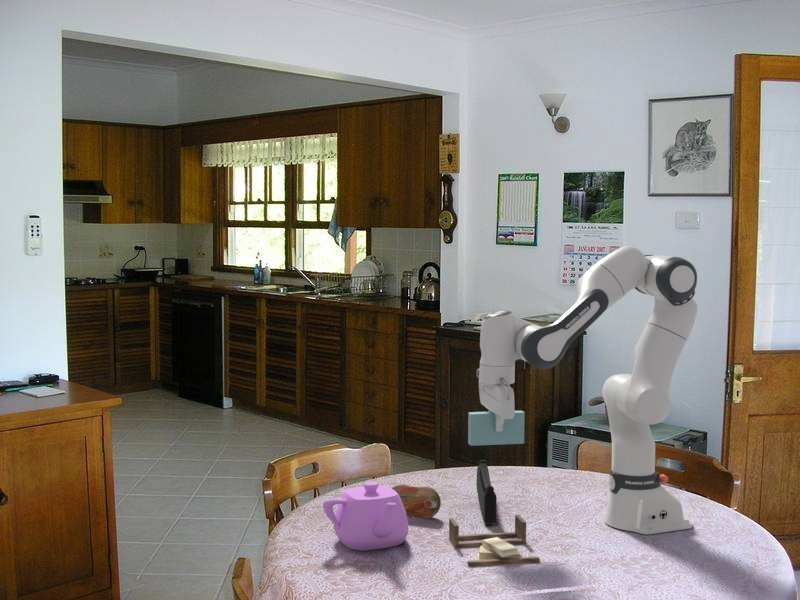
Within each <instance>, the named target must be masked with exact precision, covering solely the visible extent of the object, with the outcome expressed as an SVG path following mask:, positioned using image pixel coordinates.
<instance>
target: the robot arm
mask: <svg viewBox="0 0 800 600" xmlns="http://www.w3.org/2000/svg"><path fill="white" fill-rule="evenodd" d="M697 284H698V273H697V269H696V267H695V265H693V264H692V262H690V261H688V260H687V259H685V258H683V257H681V256H680V257H679V256H673V255H668V254H656V255H654V254H644V253H643V252H642V251H641V250H640V249H638V248H637V247H635V246H632V245H624V246H622V247H619V248H617V249H615V250H614V251H612V252H610V253H608V254H607V255H605V256H603V257H602V258H600V260H598V261H597V262H596V263H594V264H593V265H591V266H590V267H589V268H588V269H587V270H585V272H584V273H583V274H582V275H581V276H580V278H579V279H577V282H576V293H577V294H576V295H577V300H576V302H575V303H574V304H573V306H571V307H570V308H569V309H568V310H567V311H566V312H564V313H563V314H562V315H561V316H560V317H559V318H558V319H557V320H556V321H554V322H553V323H550V324H549V325H545V326H541V325H539V324H536V323H534V322H530V321H527V320H525V319H523V318H521V317H520V316H517V315H516V314H514V313H513V311H511V310H498V311H497V310H496V311H493V312H489V313H487V314H486V315H485V316H484V317H483V319H482V320H481V321H482V322H481V325H480V336H479V348H480V354H481V356H480V360H479V368H477V369H476V377H477V378H478V392H479V393H478V394H479V401H480V404H481V405H482V406H483V407H484V408H486V409H487V410H488V412H493V413H494V414H495V418H496V423H495V430H496V431H497V432H501V431H503V423H504V420H505V419H513V418H514V415H515V411H516V409H515V406H516V405H515V403H516V402H515V391H514V388H513V387H511V385H512V384H514V383H515V382H516V381H515V378H516V376H515V374H516V372H515V371H516V361H518V360H522V361H524V362H526V363H528V364H529V365H531V366H532V367H533V368H535V369H539V370H548V369H551V368H553V367H555V366H557V365H558V364H559V363H560V362H561V360H562V359H563V357H564V356H565V353H566V352H567V350H568V349H569V347H570V346H571V344H572V343H574V341H575V340H576V339H577V338H578V337H579V336H581V334H583V333H584V332H585V331H586V330H587V329H588V328H589V327H590V326H591V325H593V324H594V323H595V322H596V321H597V320H598V319H599V318H600V316H602V315H603V314H604V313H605V312H606V311H607V310H608V309H609V308H611V307H612V306H614V304H616V303H618V302H619V301H620V300H621V299H622V298H623V297H625V296H626V295H627V294H628V293H629V292H630V291H632V290H636V291H637V292H638V293H641V294H644V295H648V296H650V297H654V307H653V310H652V311H653V312H652V313H651V315H650V316H649V318H648V321H647V322H646V324H645V326H644V329H643V331H642V333H641V335H640V337H639V339H638V341H637V343H636V345H635V347H634V365H633V368H632V373H631V374H629V373H618V374H614V375H611V376H610V377H608V378H607V379H606V380H605V382H604V383H603V386H602V389H601V395H602V398H603V401H604V403H605V407H606V412H607V417H608V424H609V429H610V436H611V468H609V478H608V479H609V480H608V486H609V499H608V503H607V504H608V505H607V509H606V512H605V515H604V519H603V522H604V523H605V524H607V525H608V526H610V527H611V528H615V529H618V530H621V531H622V530H623V531H629V532H633V533H637V534H640V535H647V536H648V535H654V534H662V533H669V532H675V531H683V530H689V529H690V530H691V529H692V528H693V523H692V521H691V519H690V518H688V516H686V515H684V512H683V511H684V510H683V505H682V502H681V501H680V500H679V499H678V497H676V496H675V495H673V494H672V492H670V490H668V489H666V488H665V487H664V486H663V485H662V484H667V483H668V482H669V477H668V475H665V474H664V473H660V472H658V471H656V469H655V467H656V442H655V439H654V437H653V434H652V431H651V427H650V425H657V424H661V423H662V422H664V421H665V419H666V418H667V417H668V416H669V413H670V411H671V404H672V403H671V400H670V390H671V383H672V379H673V374H674V371H675V368H676V365H677V362H678V360H680V359H679V358H680V357H681V354H682V353H683V351H684V348H685V345H686V343H687V342H688V339H689V338H690V335H691V333H692V330H693V328H694V324H695V321H696V318H697V314H698V308H699V307H698V304H697V302H696V300H695V299H694V298H693V297H694V296H695V293H696V288H697ZM661 483H662V484H661Z"/></svg>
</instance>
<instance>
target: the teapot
mask: <svg viewBox="0 0 800 600" xmlns="http://www.w3.org/2000/svg"><path fill="white" fill-rule="evenodd" d="M392 488H393V487H390V486H388V485H385V484H384V485H382V484H379V483H378V482H376V481H366V482H364V483H363V485H362V486H356V487H350V488H346V489H344V490H343V492H342V493H341V496H340V497H339V498H327V499H325V500H324V501H323V503H322V508H323V512H324V513H325V515H326V516H327V518H328V519H329V521H331V523H332V524H333V531H334V533H335V535H336V536H337V538H338V540H339V541H340V542H341V544H343V545H344V546H345V547H347V548H349V549H351V550H355V551H360V552H366V551H370V550H371V551H372V550H380V549H381V550H382V549H386V548H394V547H395V546H399V545H401V544H402V543H404V542H405V540H406V538H407V537H408V535H409V521H408V517H407V515H406V511H405V508H404V506H403V503H402V501H401V498H400V496H399V494H398V493H397V492H396V491H395V490H393V489H392ZM335 505H337V506H336V509H335V512H334V508H333V507H334V506H335Z"/></svg>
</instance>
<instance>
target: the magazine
mask: <svg viewBox="0 0 800 600" xmlns="http://www.w3.org/2000/svg"><path fill="white" fill-rule="evenodd" d="M475 483H476V485H475V486H476V492H477V498H478V504H479V509H480V510H479V511H480V514H481V518H482V520H483V522H484V524H485V525H497V523H498V513H497V512H498V511H497V510H498V508H497V507H498V506H497V503H498V502H497V501H498V499H497V494H496V492H495V488H494V486H492V483H491V477H490V471H489V467H488V465H487V460H486V459H480V460H479V465H478V466H477V469H476V482H475Z"/></svg>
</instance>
